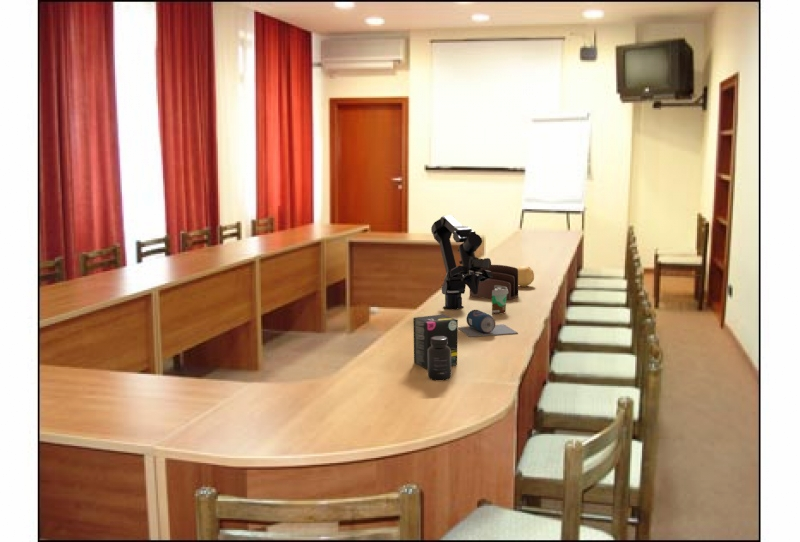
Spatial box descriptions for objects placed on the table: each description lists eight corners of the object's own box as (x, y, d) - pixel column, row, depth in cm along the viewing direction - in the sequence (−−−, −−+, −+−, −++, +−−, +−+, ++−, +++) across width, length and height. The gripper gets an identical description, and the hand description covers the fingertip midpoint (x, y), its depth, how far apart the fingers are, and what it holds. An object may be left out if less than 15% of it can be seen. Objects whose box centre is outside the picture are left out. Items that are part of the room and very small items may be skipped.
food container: (507, 315, 305) (507, 290, 304) (491, 315, 307) (491, 290, 305) (509, 309, 317) (509, 285, 316) (494, 308, 319) (494, 285, 317)
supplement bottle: (426, 374, 226) (426, 335, 224) (449, 373, 227) (449, 334, 225) (429, 381, 219) (428, 340, 218) (452, 380, 220) (452, 340, 218)
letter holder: (478, 293, 354) (478, 263, 352) (518, 296, 345) (519, 265, 343) (469, 297, 346) (469, 266, 344) (510, 300, 336) (510, 269, 334)
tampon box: (427, 370, 230) (427, 323, 228) (412, 363, 239) (412, 317, 236) (458, 365, 235) (458, 318, 233) (443, 358, 244) (443, 313, 241)
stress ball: (511, 288, 370) (516, 277, 361) (511, 271, 375) (516, 260, 367) (531, 291, 370) (536, 281, 362) (531, 274, 376) (536, 263, 367)
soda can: (481, 307, 284) (496, 314, 273) (482, 326, 285) (497, 332, 274) (464, 310, 282) (479, 316, 271) (465, 328, 283) (479, 335, 272)
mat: (458, 328, 284) (458, 327, 284) (504, 325, 288) (504, 324, 288) (469, 337, 271) (469, 336, 271) (517, 333, 275) (517, 332, 275)
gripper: (466, 246, 290) (474, 284, 285) (498, 252, 303) (507, 289, 297) (445, 257, 298) (453, 294, 292) (478, 263, 310) (486, 299, 305)
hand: (475, 294), depth 296 cm, fingers closed
